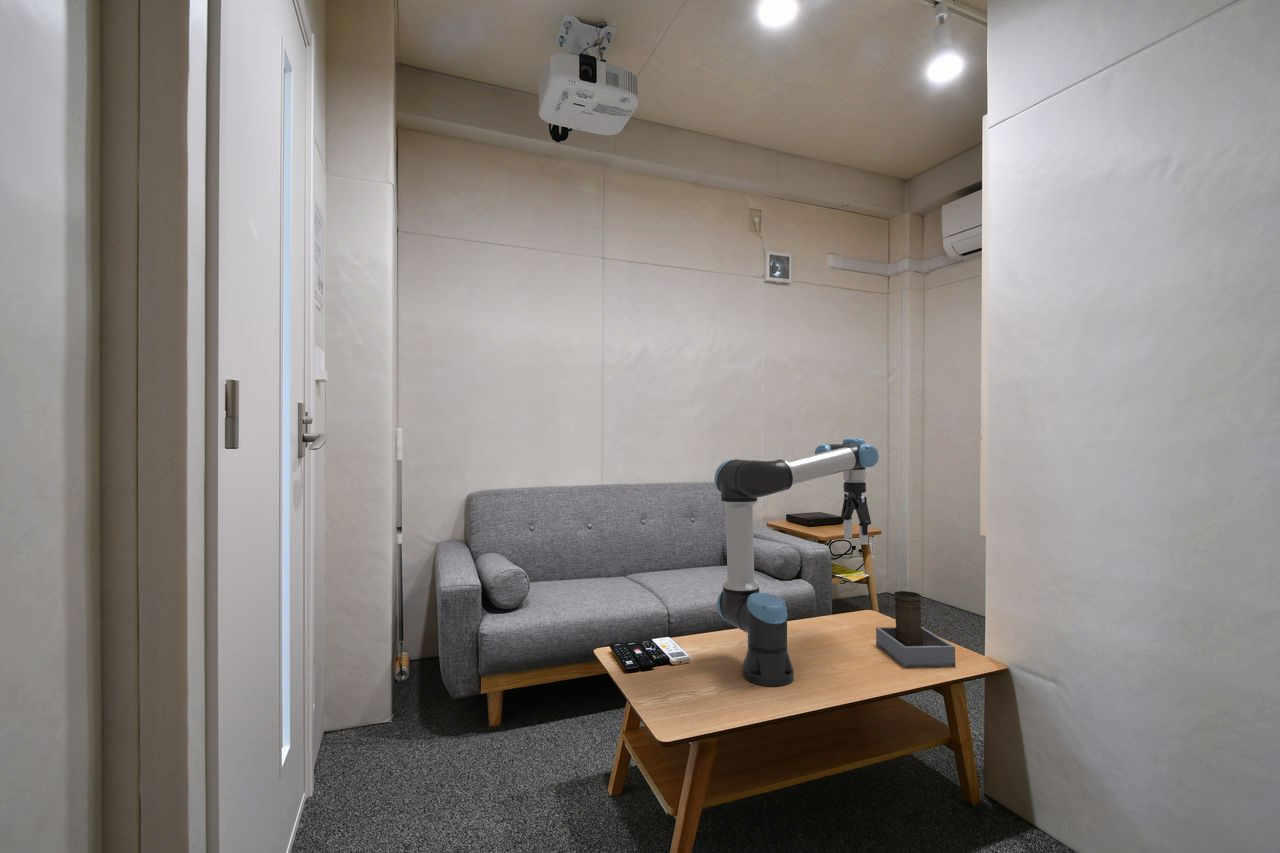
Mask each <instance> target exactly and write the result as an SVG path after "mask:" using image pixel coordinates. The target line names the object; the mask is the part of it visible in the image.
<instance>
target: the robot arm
mask: <svg viewBox="0 0 1280 853" xmlns="http://www.w3.org/2000/svg"><path fill="white" fill-rule="evenodd" d="M879 456H880V455H879V451H878V449H877V447H876V446H874V445H873V444H869V443H868V444H867V443H866V441H865V439H864V438H844V439H843V440H842V444H841V443H835V444H834V443H831V444H830V443H825V444H824V443H823V444H819V445H818V446H816V448H815V450H814V454H811V455H807V456H802V457H798V458H795V459H791V460H784V459H776V460H754V459H753V460H752V459H751V460H750V459H749V460H747V459H738V458H737V459H736V458H735V459H729V460H728V459H727V460H726V461H724V462H722V463H721V464H720V465H719V466H718V467H717V468H716V470H715V473H714V484H715V485H714V486H715V487H716V489H717V490H718V491H719V492H720V502H721V503H722V504H723V505H724V506H725V512H726V513H725V517H726V518H725V521H726V522H725V524H726V527H725V528H726V562H727V563H726V571H727V572H726V573H727V576H726V578H727V580H726V581H724V583H723V584H722V590H721V591H720V594H719V595H718V597H717V600H716V607H717V612H718V614H719V616H720V617H721V618H722V620H724V621H725V622H726V623H727V624H729V625H730V626H731V627H734V628H737V629H739V630H741V631H743V632H745V633H746V634H747V651H746V653H745V657H744V659H743V663H742V667H741V669H742V673H741V675H742V676H743V679H745V680H746V681H748V682H750V683H753V684H755V685H758V686H759V685H760V686H765V687H766V686H767V687H779V686H780V687H781V686H785V685H788V684H790V683H792V682H793V681H794V679H795V673H794V672H795V671H794V668H793V664H792V662H791V657H790V655H789V652H788V610H787V604H786V602H785V600H784V599H783V598H782V597H779V596H778V595H775V594H771V593H770V594H769V593H767V592H760V584H759V583H757V581H756V580H755V554H754V552H755V550H754V516H753V514H754V512H753V508H754V505H756V504H757V503H758V498H762V497H767V496H770V495H773V494H777V493H780V492H784V491H787V490H790V489H791V488H792V487H793V486H795V485H797V484H800V483H804V482H808V481H812V480H817V479H820V478H823V477H828V476H831V475H836V474H839V473H842V474H843V477H842V478H843V479H842V480H843V481H844V482H843V492H844V493H843V504H842V509H841V514H840V517H841V518H842V520H843V538H844V539H852V538H853V517H852V516H853V514H854V510H855V511H856V514H857V518H858V521H859V524H858V526H859V528H858V531H859V532H858V534H859V540H858V541H859V545H863V546H864V545H869V526H870V525H872V520H871V516H870V511H869V507H868V506H869V505H868V502H867V496H862V494H865V493H866V492H867V483H866V480H867V477H866V476H867V475H868V474H867V472H866V471H867V470H866V468H873V467H874V466H876V465H877V463H878V461H879Z"/></svg>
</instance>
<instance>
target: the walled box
mask: <svg viewBox="0 0 1280 853" xmlns="http://www.w3.org/2000/svg"><path fill="white" fill-rule="evenodd" d="M895 630H896V626H879V627H877V626H876V627H875V645H876V646H877V647H878V648H880V649H881V650H882V651H883V652H885V653H886V654H887V655H888V656H889V657H890V658H892V659H894V660H895V661H896V662H898V664H900V665H901V666H903V667H904V668H938V667H939V668H940V667H941V668H942V667H944V668H946V667H947V666H951V667H956V647H955V646H954V645H952V644H951V643H950V642H948V641H946V640H945V639H943V638H942V637H940V636H938V635H936V634H935V633H933V632H931V631H930V630H928V629H926V628H924V627H923V626H921V632H922V641H923V646H904V645H903V644H901V643H900V642H899V641H897V640H896V639H895V638H896V632H895ZM947 668H948V667H947Z"/></svg>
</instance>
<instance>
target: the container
mask: <svg viewBox="0 0 1280 853" xmlns="http://www.w3.org/2000/svg"><path fill="white" fill-rule="evenodd" d="M893 597H894V602H895V605H894V606H895V607H894V608H895V627H896V630H895V632H896V638H895V639H896V640H897V641H899V642H900V643H901V644H903V645H904V646H923V641H922V632H921V627H922V616H921V615H922V613H921V609H922V608H921V602H922V601H921V600H922V595H921V594H920V593H918V592H914V591H908V590H907V591H906V590H901V591H900V590H899V591H894V593H893Z"/></svg>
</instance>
